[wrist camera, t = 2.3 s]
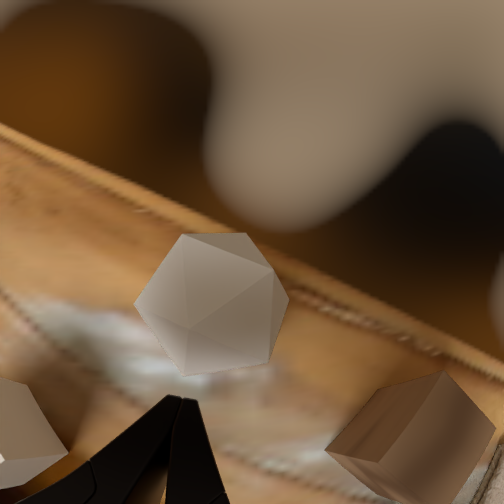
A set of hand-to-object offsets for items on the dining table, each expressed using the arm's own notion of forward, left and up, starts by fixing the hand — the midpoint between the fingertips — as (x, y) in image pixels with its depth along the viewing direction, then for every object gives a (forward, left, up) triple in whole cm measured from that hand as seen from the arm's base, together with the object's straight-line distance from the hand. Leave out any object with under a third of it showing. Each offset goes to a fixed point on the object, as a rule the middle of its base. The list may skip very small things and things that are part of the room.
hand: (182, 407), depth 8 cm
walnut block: (-11, -7, -13) cm, 18 cm away
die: (+4, -5, -13) cm, 14 cm away
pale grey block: (+6, +13, -13) cm, 19 cm away
